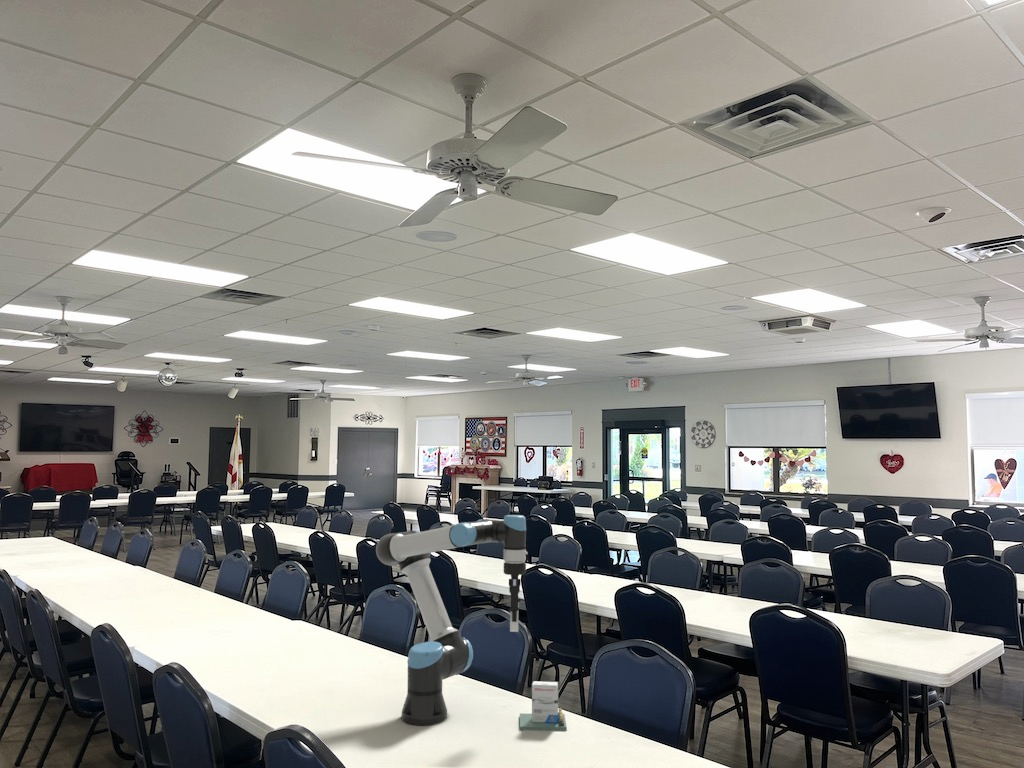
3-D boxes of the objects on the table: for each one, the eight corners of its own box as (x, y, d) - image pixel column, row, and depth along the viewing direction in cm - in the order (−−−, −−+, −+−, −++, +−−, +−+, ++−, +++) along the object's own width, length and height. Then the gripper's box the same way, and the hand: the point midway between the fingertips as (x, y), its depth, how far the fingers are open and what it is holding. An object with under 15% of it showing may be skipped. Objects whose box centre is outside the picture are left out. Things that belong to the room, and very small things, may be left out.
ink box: (558, 718, 239) (558, 681, 240) (557, 723, 234) (557, 685, 235) (532, 716, 240) (533, 680, 241) (531, 722, 235) (531, 684, 236)
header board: (519, 729, 231) (519, 718, 231) (519, 716, 243) (519, 705, 243) (566, 730, 231) (566, 718, 231) (564, 717, 243) (564, 705, 243)
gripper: (526, 567, 230) (525, 635, 228) (525, 557, 255) (525, 618, 253) (502, 567, 230) (502, 635, 228) (504, 556, 255) (503, 618, 253)
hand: (514, 626), depth 240 cm, fingers open, 13 cm apart
